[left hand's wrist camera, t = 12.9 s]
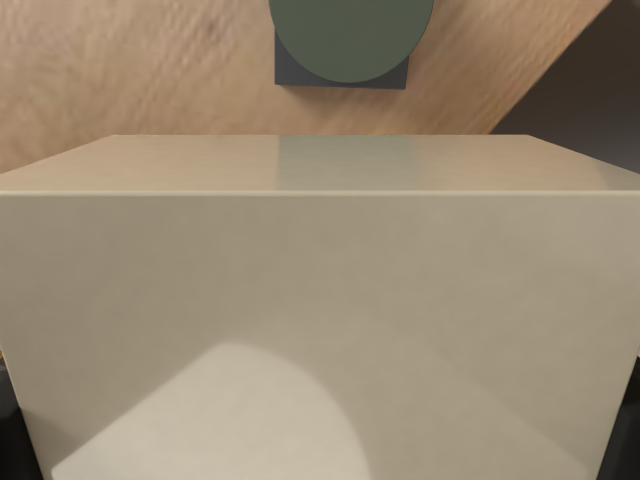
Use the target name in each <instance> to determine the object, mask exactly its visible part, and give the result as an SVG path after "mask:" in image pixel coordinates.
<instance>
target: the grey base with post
mask: <svg viewBox="0 0 640 480" xmlns="http://www.w3.org/2000/svg"><path fill="white" fill-rule="evenodd" d="M433 3H434V0H269V7H270V12H271V17H272V20H273V23H274V27H275V84H276V85H300V86H326V87H353V88H379V89H405V88H406V78H407V68H408V59H409V54H410V53H411V52H412V51H413V49H414V48H415V47H416V45H417V44H418V42H419V41H420V39H421V37H422V35H423V34H424V32H425V29H426V27H427V25H428V22H429V19H430V16H431V12H432V8H433Z"/></svg>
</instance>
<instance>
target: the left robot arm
mask: <svg viewBox="0 0 640 480" xmlns="http://www.w3.org/2000/svg"><path fill="white" fill-rule="evenodd" d="M0 480H43V477H42V474H41V471H40V468H39V465H38V462H37V459H36V456H35V453H34V450H33V447H32V444H31V441H30V438H29V434H28V431H27V428H26V425H25V422H24V419H23V416H22V413H21V410H20V407H19V404H18V401H17V398H16V395H15V392H14V389H13V385H12V382H11V379H10V376H9V373H8V370H7V367H6V364H5V361H4V358H3V357H2V358H1V359H0ZM596 480H640V358H639V357H638V356H637V358H636V361H635V364H634V367H633V370H632V373H631V377H630V380H629V383H628V386H627V389H626V392H625V395H624V398H623V401H622V404H621V406H620V409H619V412H618V415H617V418H616V421H615V424H614V427H613V430H612V433H611V436H610V439H609V443H608V446H607V449H606V452H605V455H604V458H603V461H602V464H601V467H600V470H599V473H598V476H597V479H596Z"/></svg>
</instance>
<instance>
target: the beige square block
mask: <svg viewBox="0 0 640 480" xmlns="http://www.w3.org/2000/svg"><path fill="white" fill-rule="evenodd" d="M0 349H1V352H2V355H3V358H4V361H5V364H6V367H7V370H8V373H9V376H10V379H11V382H12V385H13V389H14V392H15V395H16V398H17V401H18V404H19V407H20V410H21V413H22V416H23V419H24V422H25V425H26V428H27V431H28V434H29V438H30V441H31V444H32V447H33V450H34V453H35V456H36V459H37V462H38V465H39V468H40V471H41V474H42V477H43V480H596V479H597V476H598V473H599V470H600V467H601V464H602V461H603V458H604V455H605V452H606V449H607V446H608V443H609V439H610V436H611V433H612V430H613V427H614V424H615V421H616V418H617V415H618V412H619V409H620V406H621V404H622V401H623V398H624V395H625V392H626V389H627V386H628V383H629V380H630V377H631V373H632V370H633V367H634V364H635V361H636V358H637V355H638V352H639V349H640V174H637V173H634V172H631V171H628V170H625V169H623V168H620V167H617V166H614V165H611V164H608V163H606V162H603V161H600V160H597V159H594V158H591V157H589V156H586V155H583V154H580V153H577V152H574V151H571V150H569V149H566V148H563V147H560V146H557V145H555V144H552V143H549V142H546V141H543V140H540V139H537V138H535V137H532V136H529V135H111V136H108V137H105V138H102V139H100V140H97V141H94V142H91V143H88V144H85V145H83V146H80V147H77V148H74V149H71V150H69V151H66V152H63V153H60V154H57V155H54V156H52V157H49V158H46V159H43V160H40V161H37V162H35V163H32V164H29V165H26V166H23V167H20V168H18V169H15V170H12V171H9V172H6V173H4V174H1V175H0Z"/></svg>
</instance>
